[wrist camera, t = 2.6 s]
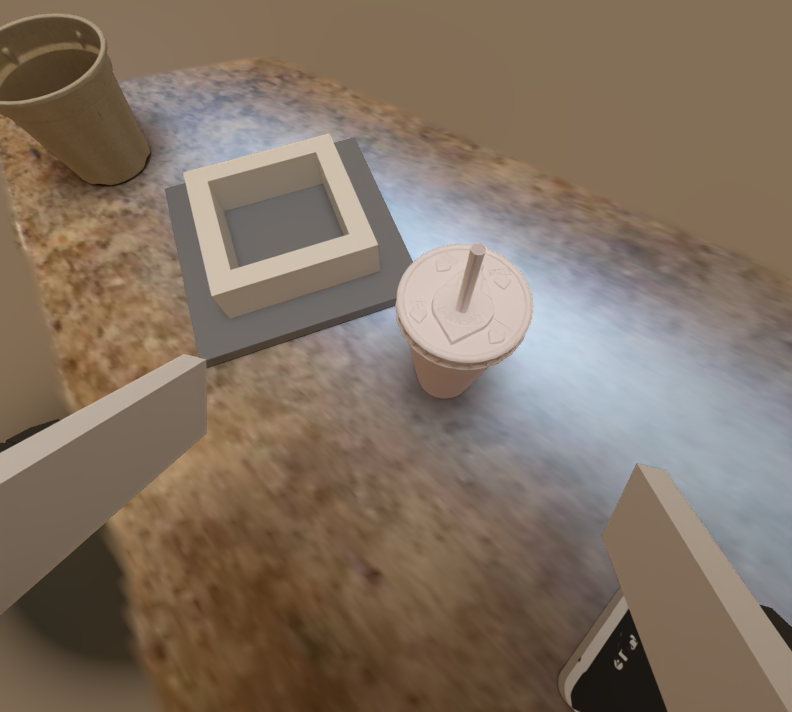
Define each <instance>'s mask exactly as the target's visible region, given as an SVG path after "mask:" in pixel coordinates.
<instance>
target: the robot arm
mask: <svg viewBox="0 0 792 712" xmlns="http://www.w3.org/2000/svg"><path fill="white" fill-rule="evenodd" d="M205 434H207V389H206V359H202V358H198V357H194V356H190V355H185V354H183V355H181V356H179V357H178V358H176V359H174V360H172V361H170V362H168V363H166V364H165V365H163V366H161V367H159V368H157V369H155V370H153V371H152V372H150V373H148V374H146V375H144V376H142V377H140V378H139V379H137V380H135V381H133V382H131V383H129V384H127V385H126V386H124V387H122V388H120V389H118V390H116V391H114V392H113V393H111V394H109V395H107V396H105V397H103V398H101V399H100V400H98V401H96V402H94V403H92V404H90V405H88V406H87V407H85V408H83V409H81V410H79V411H77V412H75V413H74V414H72V415H70V416H68V417H66V418H64V419H62V420H59V419H57V420H54V421H51V422H47V423H44V424H41V425H38V426H35V427H31V428H29V429H27V430H25V431H23V432H21V433H19V434H17V435H15V436H13V437H12V438H10V439H8V440H6V443H0V615H1V614H2V613H3V612H4V611H5V610H6V609H8V608H9V607H10V606H11V605H12V604H13V603H14V602H16V601H17V600H18V599H19V598H20V597H21V596H22V595H24V594H25V593H26V592H27V591H28V590H29V589H30V588H31V587H33V586H34V585H35V584H36V583H37V582H38V581H39V580H41V579H42V578H43V577H44V576H45V575H46V574H47V573H48V572H50V571H51V570H52V569H53V568H54V567H55V566H56V565H58V564H59V563H60V562H61V561H62V560H63V559H64V558H66V557H67V556H68V555H69V554H70V553H71V552H72V551H73V550H75V549H76V548H77V547H78V546H79V545H80V544H81V543H83V542H84V541H85V540H86V539H87V538H88V537H89V536H91V534H93V533H94V532H95V531H96V530H97V529H99V528H100V527H101V526H102V525H103V524H104V523H105V522H106V521H108V520H109V519H110V518H111V517H112V516H113V515H114V514H116V513H117V512H118V511H119V510H120V509H121V508H122V507H124V506H125V505H126V504H127V503H128V502H129V501H130V500H132V499H133V498H134V497H135V496H136V495H137V494H138V493H139V492H141V491H142V490H143V489H144V488H145V487H146V486H147V485H149V484H150V483H151V482H152V481H153V480H154V479H155V478H157V477H158V476H159V475H160V474H161V473H162V472H163V471H164V470H166V469H167V468H168V467H169V466H170V465H171V464H172V463H174V462H175V461H176V460H177V459H178V458H179V457H180V456H182V455H183V454H184V453H185V452H186V451H187V450H188V449H189V448H191V447H192V446H193V445H194V444H195V443H196V442H197V441H199V440H200V439H201V438H202V437H203V436H204V435H205ZM602 538H603V541H604V543H605V546H606V549H607V551H608V554H609V557H610V559H611V562H612V565H613V567H614V570H615V573H616V575H617V578H618V581H619V583H620V586H621V589H622V591H623V594H624V597H625V599H626V602H627V605H628V607H629V610H630V613H631V615H632V618H633V621H634V623H635V626H636V629H637V631H638V634H639V637H640V639H641V642H642V645H643V647H644V650H645V653H646V655H647V658H648V661H649V663H650V666H651V669H652V671H653V674H654V677H655V679H656V682H657V685H658V687H659V690H660V693H661V695H662V698H663V701H664V703H665V706H666V709H667V711H668V712H792V627H791V626H790V625H789V624H788V623H787V622H786V621H785V620H784V619H783V618H782V617H780V616H779V615H778V614H777V613H776V612H775V611H774V610H773V609H772V608H769V607H766V606H762V605H759V604H758V603H757V601H756V600H755V598H754V597H753V595H752V594H751V593H750V591H749V590H748V588H747V587H746V585H745V584H744V583H743V581H742V580H741V578H740V577H739V575H738V574H737V573H736V571H735V570H734V568H733V567H732V565H731V564H730V562H729V561H728V560H727V558H726V557H725V555H724V554H723V552H722V551H721V550H720V548H719V547H718V545H717V544H716V542H715V541H714V540H713V538H712V537H711V535H710V534H709V532H708V531H707V530H706V528H705V527H704V525H703V524H702V522H701V521H700V520H699V518H698V517H697V515H696V514H695V512H694V511H693V510H692V508H691V507H690V505H689V504H688V502H687V501H686V499H685V498H684V497H683V495H682V494H681V492H680V491H679V489H678V488H677V487H676V485H675V484H674V482H673V481H672V479H671V478H670V477H669V475H668V474H667V472H666V471H665V470H662V469H658V468H654V467H650V466H646V465H642V464H636V466H635V468H634V470H633V472H632V474H631V477H630V479H629V481H628V483H627V485H626V487H625V489H624V491H623V493H622V495H621V497H620V499H619V501H618V503H617V506H616V508H615V510H614V512H613V514H612V516H611V518H610V520H609V522H608V524H607V526H606V528H605V530H604V532H603V535H602Z"/></svg>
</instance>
